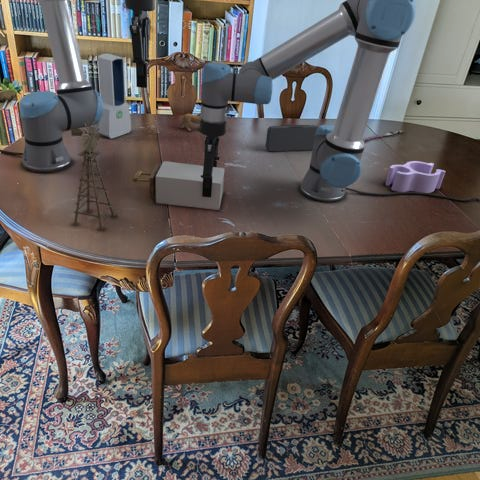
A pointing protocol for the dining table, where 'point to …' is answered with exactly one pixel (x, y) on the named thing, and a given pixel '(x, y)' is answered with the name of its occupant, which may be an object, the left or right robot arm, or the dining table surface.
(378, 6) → the right robot arm
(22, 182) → the dining table surface
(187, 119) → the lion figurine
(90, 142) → the miniature windmill
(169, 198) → the cabinet
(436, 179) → the clip
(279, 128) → the handheld gaming console
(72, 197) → the dining table surface
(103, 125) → the electronic device
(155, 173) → the drawer
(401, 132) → the sword
